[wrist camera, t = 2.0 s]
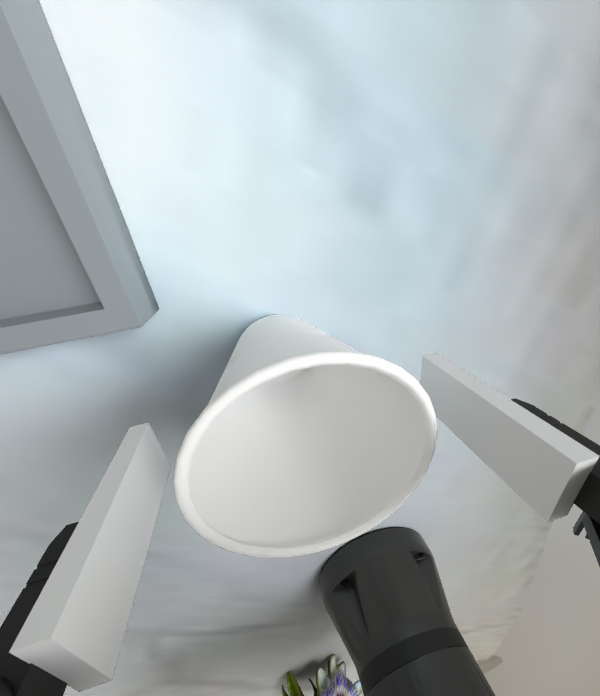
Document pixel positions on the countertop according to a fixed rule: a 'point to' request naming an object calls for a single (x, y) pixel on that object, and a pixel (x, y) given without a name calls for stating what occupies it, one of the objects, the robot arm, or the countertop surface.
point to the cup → (302, 444)
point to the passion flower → (327, 682)
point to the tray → (56, 204)
